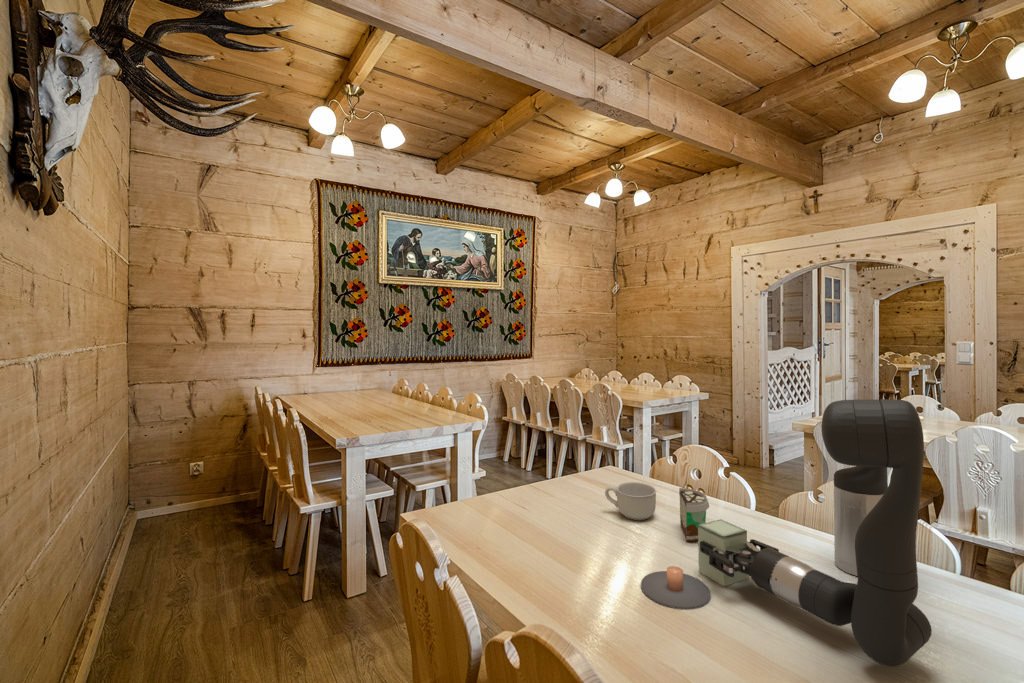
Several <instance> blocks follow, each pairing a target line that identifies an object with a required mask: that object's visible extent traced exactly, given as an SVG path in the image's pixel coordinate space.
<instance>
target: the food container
mask: <svg viewBox="0 0 1024 683" xmlns="http://www.w3.org/2000/svg"><path fill="white" fill-rule="evenodd" d="M678 491H679V492H678V495H679V519H680V522H679V523H680V530H681V532H682V535H683V537H684V540H685V543H689V544H690V543H691V544H692V543H698V525H699V524H704V523H706V521H707V510H708V509H709V508H710V504H709V499H708V498H707V495H706V494H704V493H703V492H701V491H698V490H695V489H691V488H682V487H679V490H678Z"/></svg>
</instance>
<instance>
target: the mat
mask: <svg viewBox="0 0 1024 683" xmlns="http://www.w3.org/2000/svg"><path fill="white" fill-rule="evenodd" d="M640 588H641V591H642V592H643V594H644V595H645V596H646V597H647V598H648V599H650V600H651V601H653V602H655V603H657V604H659V605H660V606H661V605H662V606H665V607H667V608H673V609H679V610H694V609H699V608H702V607H704V606H706V605H707V604H708V603H709V602H710V600H711V596H712V595H711V590H710V588H709V586H708V585H707V584H706V583H704V582H703V581H702V580H700V579H698V578H696V577H695V576H693V575H691V574H690V575H689V574H688V573H684V572H683V590H682V591H680V592H675V591H671V590H669V589H668V588H667V570H662V571H660V570H659V571H654V572H650V573H647V575H645V576H643V577H642V579H641V582H640Z"/></svg>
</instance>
